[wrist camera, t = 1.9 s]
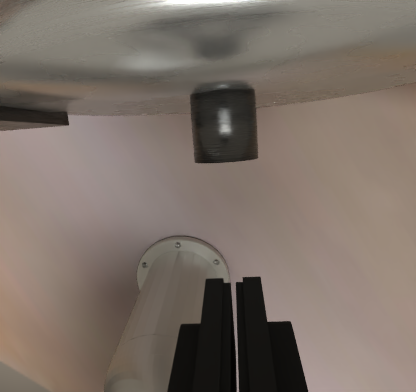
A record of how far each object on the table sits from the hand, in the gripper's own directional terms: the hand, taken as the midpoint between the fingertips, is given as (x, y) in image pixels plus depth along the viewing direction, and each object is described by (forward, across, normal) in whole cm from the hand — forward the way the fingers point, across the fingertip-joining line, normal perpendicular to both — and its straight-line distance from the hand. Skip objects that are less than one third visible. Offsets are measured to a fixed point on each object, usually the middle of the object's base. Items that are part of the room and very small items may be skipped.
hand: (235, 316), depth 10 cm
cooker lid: (+8, +2, -7) cm, 11 cm away
